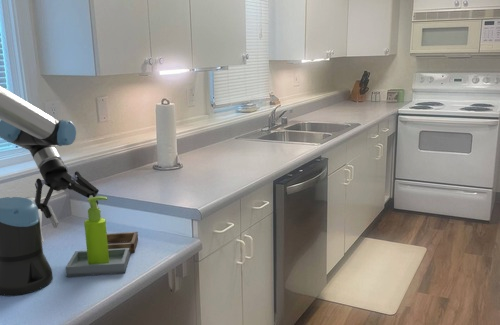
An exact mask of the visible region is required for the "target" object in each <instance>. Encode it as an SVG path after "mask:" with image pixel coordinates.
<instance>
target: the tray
mask: <svg viewBox="0 0 500 325" xmlns="http://www.w3.org/2000/svg"><path fill="white" fill-rule="evenodd" d="M108 255H109V263H103V264H88V256H87V250H76V251H74V252H73V254H72V256H71V258H70V260H69V261H68V262H67V265H66V266H65V273H66V278H76V277H77V278H78V277H92V276H106V275H107V276H108V275H119V274H126V271H127V268H128V264H129V261H130V258H131V253H130V252H129V248H120V249H108Z"/></svg>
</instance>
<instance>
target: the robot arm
mask: <svg viewBox="0 0 500 325" xmlns="http://www.w3.org/2000/svg"><path fill="white" fill-rule="evenodd" d="M76 136H77V128H76V126H75V124H74V123H73V122H72V121H71V120H64V119H56V118H55V117H53V116H51V115H50V114H49V113H46V112H44V111H43V110H42V109H40V108H38V107H37V106H35V105H33V104H32V103H30V102H29V101H26V100H25V99H24V98H21V97H20V96H18V95H17V94H15V93H13V92H12V91H10V90H9V89H7V88H5V87H4V86H2V85H0V138H1V139H2V140H4V141H6V142H8V143H10V144H13V145H16V146H18V147H21V148H23V149H25V150H27V151H29V152H30V154H31V156H32V158H33V160H34V164H35V165H36V167H37V169H38V170H39V172H40V175H41V176H42V179H41V178H36V181H35V183H34V185H35V196H34V197H35V202H34V201H32V200H30V199H27V197H21V196H12V197H8V196H7V197H1V198H0V296H5V297H6V296H7V297H10V296H20V295H26V294H30V293H34V292H36V291H39V290H41V289H43V288H45V287H47V286H48V285H50V283H51V282H53V279H54V276H53V275H54V274H53V269H52V267H51V266H50V264H49V262H48V259H47V258H46V256H45V253H44V249H43V242H42V238H41V232H42V227H41V228H40V216H39V213H38V209H40V211H42V214H43V215H44V217H45V218H46V219H49V220H50V222H51V225H52V227H53V229H57V228H58V227H59V223H60V222H59V220H58V217H57V215H56V214H55V211H54V210H53V208H52V205H51V204H48V203H49V201H50V199H51V196H52V194H53V193H54V192H53V191H56V192H59V191H61V190H62V191H63V190H70V191H71V190H72V191H74V192H75V193H78V194H79V195H81V196H84V197H85V198H87V199H88V198H91V197H97V195H98V194H99V192H100V190H99V189H98V188H97V187H96V186H94V185H93V184H92V183H90V182H89V181H88V180H87V179H86V178H84V177H83V176H82V175H81V174H80V172H79V171H75V172H74V173H72V174H70V173H69V171H68V169H67V167H66V165H65V163H64V161H63V160H62V157H61V155H60V153H59V151H58V150H57V148H56V147H57V146H59V147H62V146H71V145H73V144H74V142H75V141H76ZM44 185H45V186H46V187H48V188H49V189H48V191H47V193H46V194H45V195H46V196H45V198H44V200H43V202H41V201H42V200H41V199H42V194H43V193H42V190H43V187H44ZM96 204H97V207H98V208H100V207H99V200H96ZM88 205H90V202H88ZM101 212H102V211H101V210H100V213H101Z"/></svg>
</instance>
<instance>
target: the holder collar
mask: <svg viewBox="0 0 500 325" xmlns="http://www.w3.org/2000/svg"><path fill="white" fill-rule="evenodd" d="M138 236H139V234H138V231H130V232H129V231H128V232H127V231H126V232H113V233H112V232H111V233H107V243H108V249H120V248H129V252H130V254H134V253H135V252H136V248H137V247H138V246H137V245H138V242H139V237H138Z"/></svg>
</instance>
